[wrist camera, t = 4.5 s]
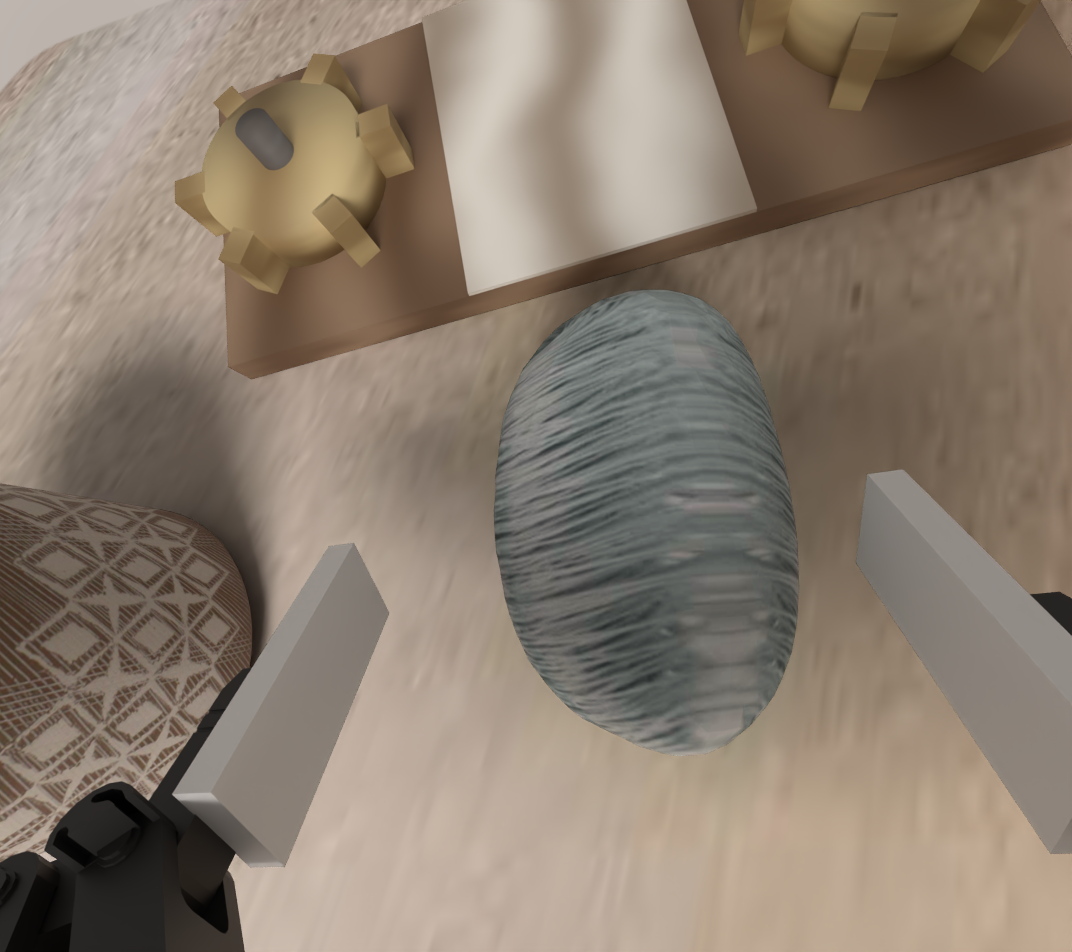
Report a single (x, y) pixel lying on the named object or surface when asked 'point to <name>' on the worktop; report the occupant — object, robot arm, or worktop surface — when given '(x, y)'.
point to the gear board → (592, 148)
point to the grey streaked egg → (648, 523)
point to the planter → (104, 649)
